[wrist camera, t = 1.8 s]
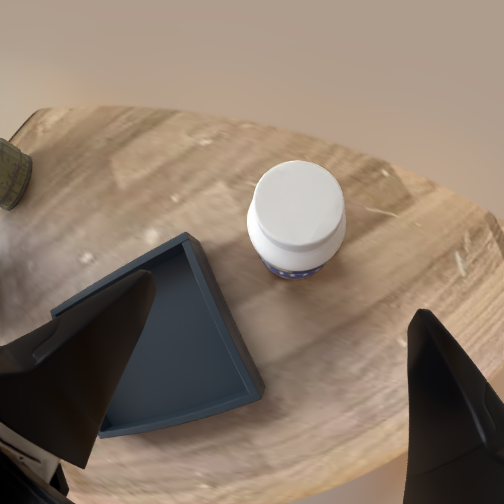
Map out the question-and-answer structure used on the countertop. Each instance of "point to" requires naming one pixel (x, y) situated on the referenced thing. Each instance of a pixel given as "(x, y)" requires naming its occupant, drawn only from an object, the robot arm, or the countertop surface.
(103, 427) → the tray
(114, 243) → the countertop surface
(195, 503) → the countertop surface
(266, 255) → the pill bottle
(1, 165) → the stone statue
